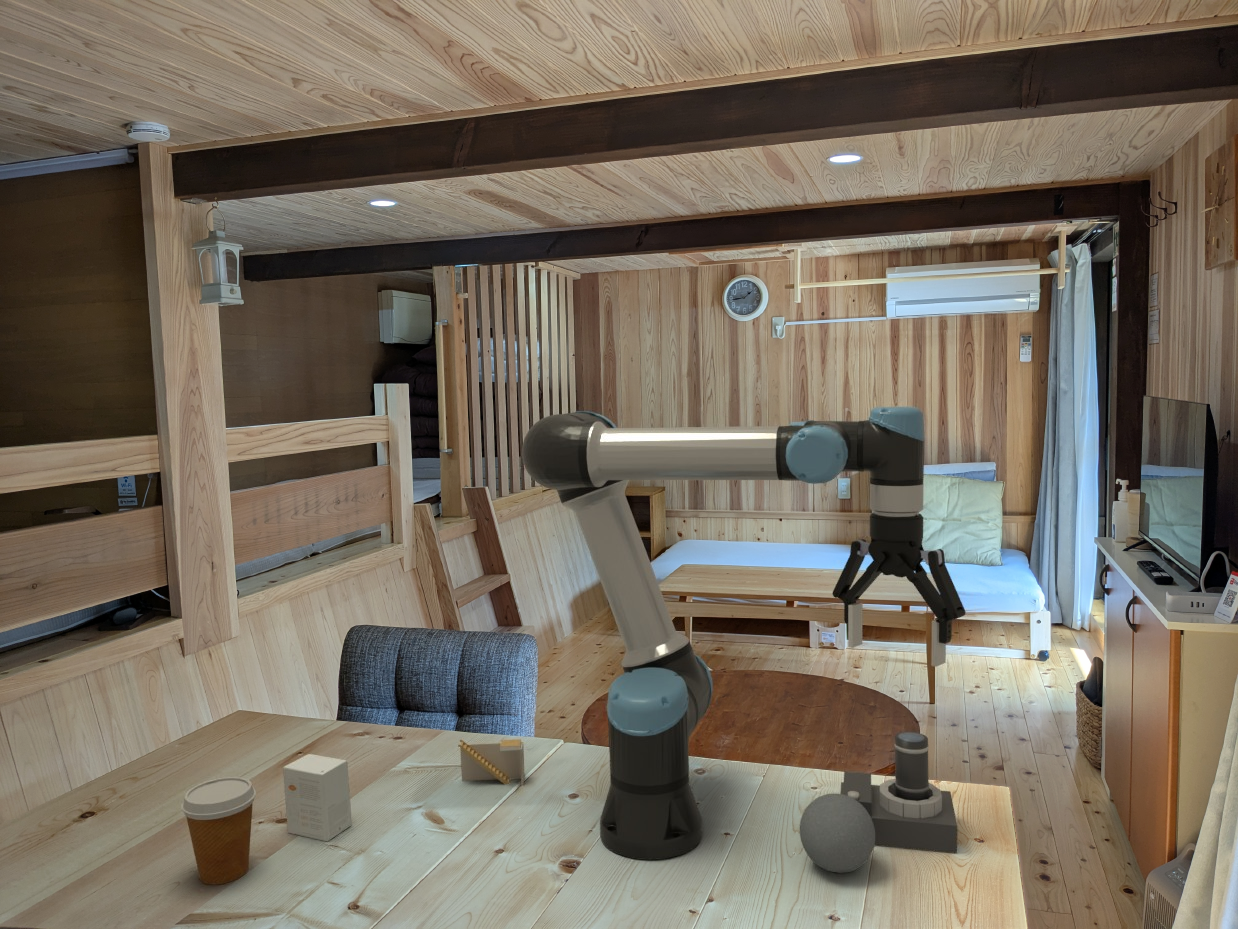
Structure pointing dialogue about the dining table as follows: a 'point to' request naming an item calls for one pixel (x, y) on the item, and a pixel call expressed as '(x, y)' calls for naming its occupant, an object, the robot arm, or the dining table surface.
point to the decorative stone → (837, 833)
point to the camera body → (905, 815)
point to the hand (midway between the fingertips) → (895, 654)
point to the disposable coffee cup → (220, 827)
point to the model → (493, 761)
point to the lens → (911, 766)
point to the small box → (317, 797)
